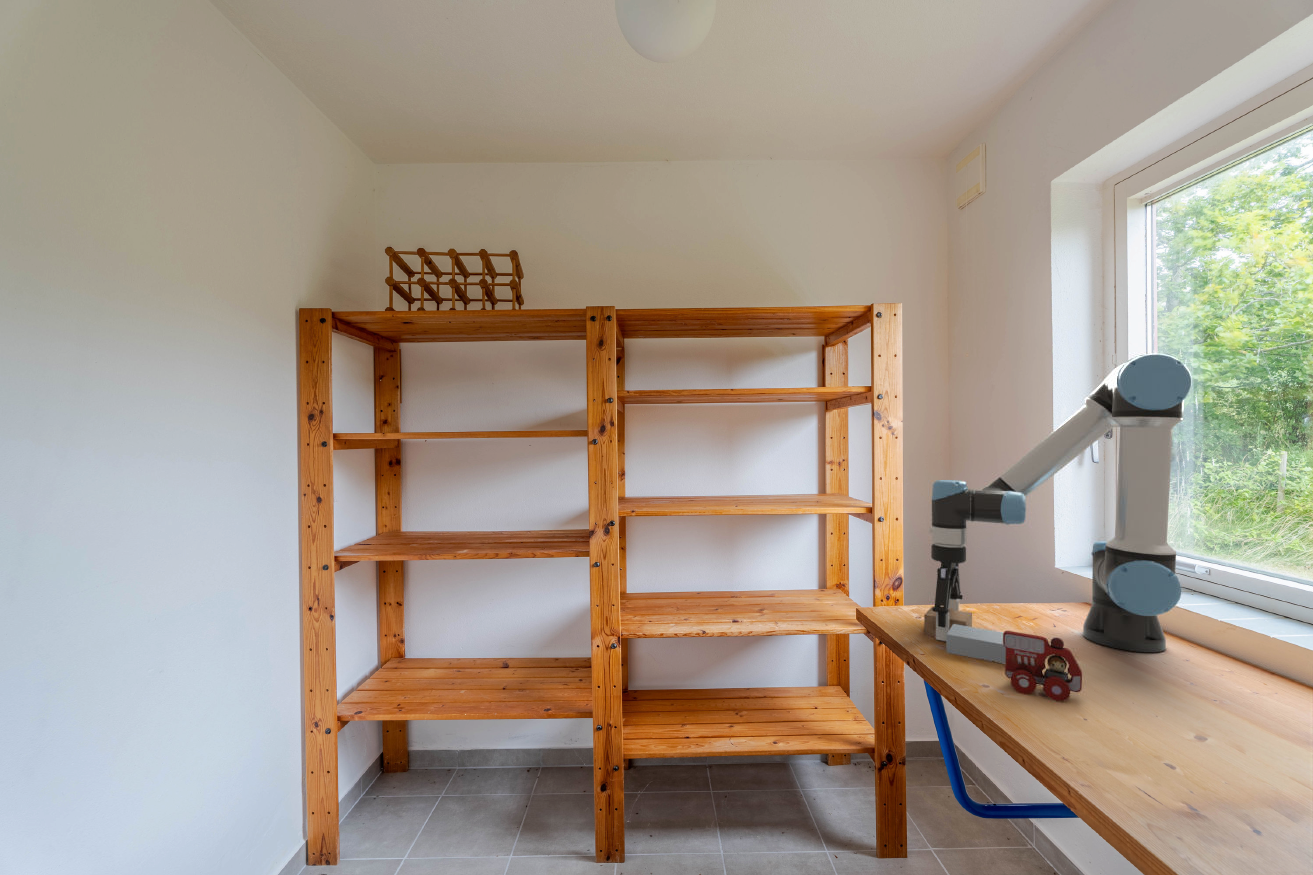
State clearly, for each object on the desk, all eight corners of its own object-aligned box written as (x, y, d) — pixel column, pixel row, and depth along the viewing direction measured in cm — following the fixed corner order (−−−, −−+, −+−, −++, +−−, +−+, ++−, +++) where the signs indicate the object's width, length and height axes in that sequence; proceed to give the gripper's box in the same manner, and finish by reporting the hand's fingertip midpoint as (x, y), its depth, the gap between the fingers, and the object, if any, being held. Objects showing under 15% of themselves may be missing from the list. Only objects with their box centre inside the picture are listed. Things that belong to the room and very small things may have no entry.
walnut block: (972, 633, 144) (972, 612, 144) (966, 643, 137) (966, 621, 137) (931, 626, 149) (932, 606, 149) (924, 635, 142) (924, 614, 142)
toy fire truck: (1082, 707, 104) (1082, 647, 104) (1001, 690, 111) (1001, 634, 111) (1081, 693, 110) (1081, 636, 110) (1003, 677, 117) (1004, 624, 117)
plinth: (1035, 656, 128) (1035, 637, 128) (1032, 669, 121) (1032, 649, 121) (953, 641, 138) (953, 623, 138) (946, 652, 130) (946, 634, 130)
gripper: (941, 535, 156) (940, 616, 156) (920, 550, 135) (919, 643, 135) (973, 539, 151) (972, 622, 151) (957, 554, 131) (956, 650, 131)
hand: (947, 632), depth 143 cm, fingers open, 13 cm apart
